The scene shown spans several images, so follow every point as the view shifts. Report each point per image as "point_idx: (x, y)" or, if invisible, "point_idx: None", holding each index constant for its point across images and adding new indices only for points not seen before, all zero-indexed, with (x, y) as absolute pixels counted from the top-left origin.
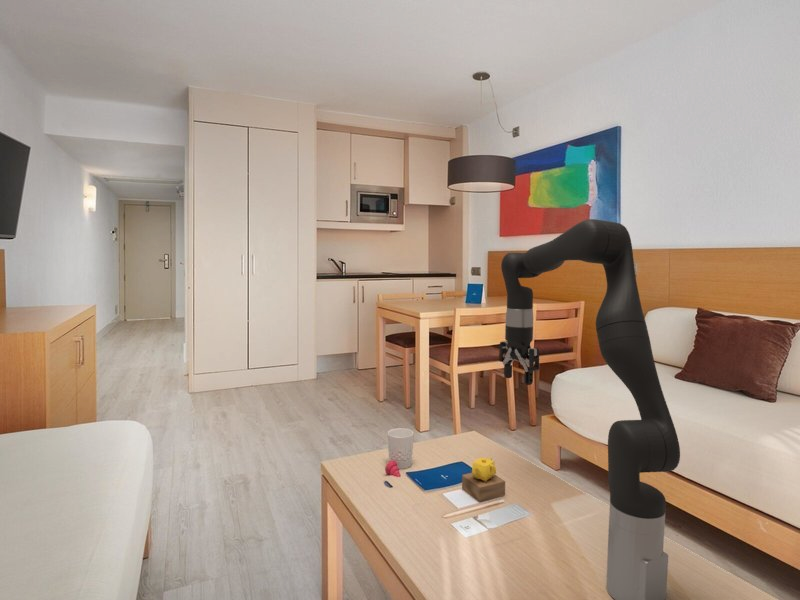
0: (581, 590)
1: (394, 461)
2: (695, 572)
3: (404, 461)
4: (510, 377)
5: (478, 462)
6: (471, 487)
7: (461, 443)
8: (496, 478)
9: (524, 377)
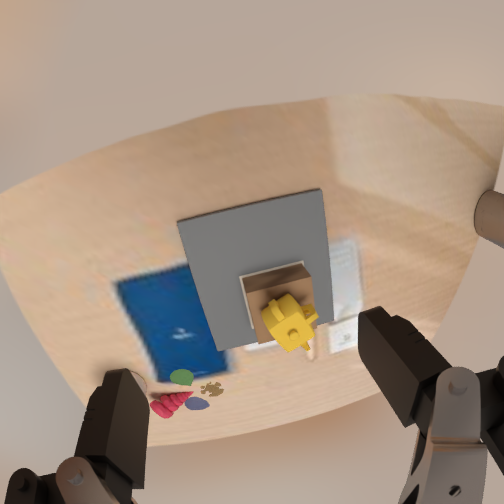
0: (468, 257)
1: (163, 412)
2: (490, 124)
3: (144, 392)
4: (131, 376)
5: (292, 343)
6: None
7: (26, 251)
8: (294, 288)
9: (382, 391)
